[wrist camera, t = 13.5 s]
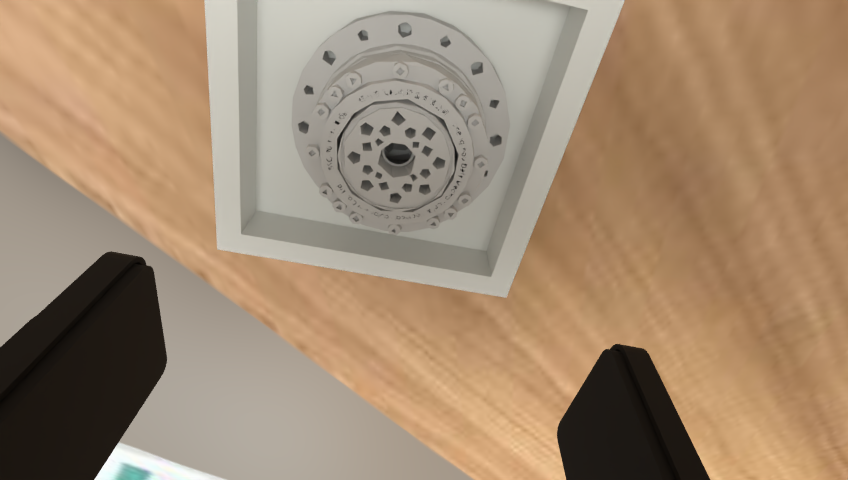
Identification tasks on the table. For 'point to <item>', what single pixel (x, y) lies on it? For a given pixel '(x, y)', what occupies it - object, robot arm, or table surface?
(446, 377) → the table surface
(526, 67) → the tray
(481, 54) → the mechanical component
